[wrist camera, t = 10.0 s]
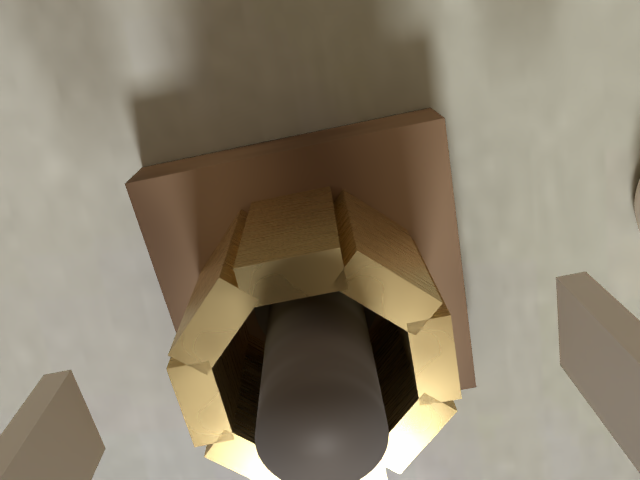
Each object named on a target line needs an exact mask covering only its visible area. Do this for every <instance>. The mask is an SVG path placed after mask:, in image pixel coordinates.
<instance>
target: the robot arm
mask: <svg viewBox="0 0 640 480" xmlns="http://www.w3.org/2000/svg"><path fill="white" fill-rule="evenodd" d="M556 287H557V308H558V329H559V350H560V365H561V367H562V368H563V369H564V371H565V372H566V373H567V375H568V376H569V378H570V379H571V380H572V382H573V383H574V384H575V386H576V387H577V388H578V390H579V391H580V393H581V394H582V395H583V397H584V398H585V399H586V401H587V402H588V403H589V405H590V406H591V408H592V409H593V410H594V412H595V413H596V414H597V416H598V417H599V418H600V420H601V421H602V423H603V424H604V425H605V427H606V428H607V429H608V431H609V432H610V433H611V435H612V436H613V438H614V439H615V440H616V442H617V443H618V444H619V446H620V447H621V448H622V450H623V451H624V453H625V454H626V455H627V457H628V458H629V459H630V461H631V462H632V463H633V465H634V466H635V467H636V469H637V470H638V472H639V473H640V321H639V320H638V319H637V318H636V317H635V316H634V315H633V314H632V313H631V312H629V311H628V310H627V309H626V308H625V307H624V306H623V305H622V304H621V303H620V302H618V301H617V300H616V299H615V298H614V297H613V296H612V295H611V294H610V293H609V292H607V291H606V290H605V289H604V288H603V287H602V286H601V285H600V284H599V283H598V282H597V281H595V280H594V279H593V278H592V277H591V276H590V275H589V274H588V273H587V272H581V273H576V274H570V275H565V276H560V277H556ZM104 450H105V446H104V444H103V442H102V439H101V437H100V435H99V432H98V430H97V428H96V426H95V423H94V421H93V419H92V417H91V414H90V412H89V410H88V407H87V405H86V403H85V401H84V398H83V396H82V394H81V392H80V389H79V387H78V385H77V382H76V380H75V378H74V376H73V373H72V371H71V370H67V371H62V372H56V373H51V374H46V375H43V377H42V378H41V380H40V381H39V382H38V384H37V385H36V387H35V388H34V389H33V391H32V392H31V394H30V395H29V396H28V398H27V399H26V401H25V402H24V403H23V405H22V406H21V408H20V409H19V410H18V412H17V413H16V415H15V416H14V417H13V419H12V420H11V421H10V423H9V424H8V426H7V427H6V428H5V430H4V431H3V433H2V434H1V435H0V480H91V479H92V477H93V475H94V472H95V470H96V468H97V466H98V464H99V461H100V459H101V457H102V455H103V453H104Z"/></svg>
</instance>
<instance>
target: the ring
mask: <svg viewBox="0 0 640 480" xmlns="http://www.w3.org/2000/svg"><path fill="white" fill-rule="evenodd" d="M336 291H340V292H341V293H343V294H345V295H346V296H348V297H350V298H351V299H353V300H355V301H357V302H358V303H360V304H362V305H363V306H365V307H367V308H369V309H370V310H372V311H374V312H375V313H377V314H379V315H380V316H382V318H381V320H380V321H379V322H378V323H377V325H376V326H375V327H374V329H373V330H372V331H371V332H370V334H369V336H370V341H371V346H372V351H373V356H374V360H375V365H376V370H377V375H378V380H379V385H380V389H381V394H382V399H383V404H384V409H385V413H386V418H387V423H388V429H389V442H388V446H387V450H386V452H385V455H384V456H383V458H382V460H381V461H380V463H379V464H378V465H377V467H376V468H375V469H374V470H373V471H372V472H370V473H369V474H368V475H367V476H365V477H364V478H362V479H360V480H387V476H386V470H385V467H387V468H389V469H391V470H393V471H395V472H397V473H399V474H401V473H402V471H403V470H404V469H405V468H406V467H407V466H408V465H409V464H410V463H411V462H412V460H413V459H414V458H415V457H416V456H417V455H418V454H419V453H420V452H421V451H422V449H423V448H424V447H425V446H426V445H427V444H428V443H429V442H430V441H431V440H432V438H433V437H434V436H435V435H436V434H437V433H438V432H439V431H440V430H441V429H442V427H443V426H444V425H445V424H446V423H447V422H448V421H449V420H450V419H451V418H452V416H453V415H454V414H455V413H456V412H457V409H456V407H455V404H454V401H453V400H457V399H462V397H461V389H460V382H459V374H458V366H457V358H456V351H455V343H454V335H453V327H452V320H451V314H450V312H449V310H448V308H447V306H446V304H445V302H444V300H443V298H442V296H441V294H440V292H439V290H438V288H437V286H436V284H435V282H434V280H433V278H432V276H431V274H430V272H429V270H428V268H427V266H426V264H425V262H424V260H423V257H422V255H421V253H420V251H419V249H418V247H417V245H416V243H415V241H414V239H412V238H411V236H410V234H409V232H408V230H407V229H405V228H404V227H402V226H401V225H399V224H398V223H396V222H394V221H393V220H391V219H390V218H388V217H387V216H385V215H384V214H382V213H380V212H379V211H377V210H376V209H374V208H373V207H371V206H369V205H368V204H366V203H365V202H363V201H362V200H360V199H358V198H357V197H355V196H354V195H352V194H351V193H349V192H348V191H346V190H344V189H342V190H341V192H340V193H339V195H338V196H337V198H336V199H335V200H334V202H333V198H332V193H331V188H330V186H329V187H324V188H319V189H314V190H309V191H304V192H299V193H294V194H289V195H284V196H279V197H274V198H269V199H264V200H259V201H254V202H251V205H250V208H249V212H248V213H247V212H245V211H243V210H242V209H240V211H239V213H238V214H237V216H236V217H235V219H234V220H233V222H232V223H231V225H230V227H229V228H228V230H227V231H226V233H225V234H224V236H223V237H222V239H221V240H220V242H219V244H218V245H217V247H216V248H215V250H214V251H213V253H212V254H211V256H210V258H209V259H208V261H207V262H206V264H205V265H204V267H203V268H202V270H201V272H200V275H199V277H198V280H197V283H196V285H195V288H194V290H193V293H192V295H191V298H190V300H189V303H188V305H187V308H186V310H185V313H184V316H183V318H182V321H181V323H180V326H179V328H178V331H177V333H176V336H175V338H174V341H173V343H172V346H171V349H170V351H169V354H168V356H170V357H171V358H170V361H169V363H168V366H167V368H166V369H167V372H168V375H169V378H170V380H171V383H172V386H173V389H174V391H175V394H176V397H177V400H178V402H179V405H180V408H181V411H182V414H183V416H184V419H185V422H186V425H187V427H188V430H189V433H190V436H191V438H192V441H193V444H194V447H198V446H203V445H207V446H206V451H205V455H204V457H206V458H208V459H210V460H212V461H214V462H216V463H218V464H220V465H222V466H225V467H227V468H229V469H231V470H233V471H235V472H237V473H239V474H241V475H244V476H246V477H248V478H250V479H252V480H280V479H279V478H277V477H276V476H275V475H273V474H272V473H271V472H270V471H269V470H268V469H267V468H266V467H265V465H264V464H263V463H262V461H261V459H260V458H259V456H258V453H257V450H256V446H255V429H256V420H257V411H258V402H259V393H260V385H261V376H262V367H263V358H264V349H265V342H264V341H262V340H260V339H258V338H256V337H254V336H253V335H251V334H249V332H248V328H247V325H246V321H245V320H246V318H247V317H248V316H249V314H250V313H251V311H252V310H253V308H254V307H259V306H264V305H269V304H274V303H279V302H285V301H290V300H295V299H300V298H305V297H310V296H316V295H321V294H326V293H331V292H336Z"/></svg>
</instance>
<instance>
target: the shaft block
mask: <svg viewBox="0 0 640 480" xmlns="http://www.w3.org/2000/svg"><path fill="white" fill-rule="evenodd" d="M125 186H126V189H127V191H128V194H129V197H130V200H131V203H132V206H133V209H134V212H135V215H136V218H137V220H138V223H139V226H140V229H141V232H142V235H143V238H144V241H145V244H146V247H147V249H148V252H149V255H150V258H151V261H152V264H153V267H154V270H155V273H156V275H157V278H158V281H159V284H160V287H161V290H162V293H163V296H164V299H165V302H166V304H167V307H168V310H169V313H170V316H171V319H172V322H173V325H174V328H175V331H176V333H177V331H178V328H179V326H180V323H181V321H182V318H183V316H184V313H185V310H186V308H187V305H188V303H189V300H190V298H191V295H192V293H193V290H194V288H195V285H196V283H197V280H198V277H199V275H200V272H201V270H202V268H203V267H204V265H205V264H206V262H207V261H208V259H209V258H210V256H211V254H212V253H213V251H214V250H215V248H216V247H217V245H218V244H219V242H220V240H221V239H222V237H223V236H224V234H225V233H226V231H227V230H228V228H229V227H230V225H231V223H232V222H233V220H234V219H235V217H236V216H237V214H238V213H239V211H240V209H242V210H243V211H245V212H247V213H248V212H249V208H250V205H251V202H254V201H259V200H264V199H269V198H274V197H279V196H284V195H289V194H294V193H299V192H304V191H309V190H314V189H319V188H324V187H329V186H330V188H331V193H332V198H333V202H334V200H335V199H336V198H337V196H338V195H339V193H340V192H341V190H342V189H344V190H346V191H348V192H349V193H351V194H352V195H354V196H355V197H357V198H358V199H360V200H362V201H363V202H365V203H366V204H368V205H369V206H371V207H373V208H374V209H376V210H377V211H379V212H380V213H382V214H384V215H385V216H387V217H388V218H390V219H391V220H393V221H394V222H396V223H398V224H399V225H401V226H402V227H404V228H405V229H407V230H408V232H409V234H410V236H411V238H412V239H414V241H415V243H416V245H417V247H418V249H419V251H420V253H421V255H422V257H423V260H424V262H425V264H426V266H427V268H428V270H429V272H430V274H431V276H432V278H433V280H434V282H435V284H436V286H437V288H438V290H439V292H440V294H441V296H442V298H443V300H444V302H445V304H446V306H447V308H448V310H449V312H450V314H451V320H452V327H453V335H454V343H455V351H456V358H457V366H458V374H459V382H460V389H461V390H463V389H468V388H474V387H476V382H475V374H474V365H473V356H472V348H471V339H470V331H469V322H468V314H467V305H466V297H465V288H464V279H463V271H462V262H461V254H460V245H459V237H458V228H457V219H456V211H455V202H454V194H453V185H452V177H451V168H450V160H449V151H448V142H447V134H446V125H445V118H444V117H443V116H441V115H440V114H439V113H437V112H436V111H434V110H433V109H432V108H427V109H422V110H417V111H412V112H408V113H403V114H398V115H393V116H388V117H383V118H379V119H374V120H369V121H364V122H359V123H355V124H350V125H345V126H340V127H335V128H330V129H326V130H321V131H316V132H311V133H306V134H301V135H297V136H292V137H287V138H282V139H277V140H272V141H268V142H263V143H258V144H253V145H248V146H243V147H239V148H234V149H229V150H224V151H219V152H215V153H210V154H205V155H200V156H195V157H190V158H186V159H181V160H176V161H171V162H166V163H161V164H157V165H152V166H147V167H142V168H141V169H140V170H139V171H138V172H137V173H136V174H135V175H134V176H133V177H132V178H131V179H129V180H128V181H127V182H126V183H125ZM381 318H382V316H380V315H379V314H377V313H375V312H374V311H372V310H370V309H369V308H367V307H365V306H363V305H362V304H360V303H358V302H357V301H355V300H353V299H351V298H350V297H348V296H346V295H345V294H343V293H341V292H340V291H336V292H331V293H326V294H321V295H316V296H310V297H305V298H300V299H295V300H290V301H285V302H279V303H274V304H269V305H264V306H259V307H254V308H253V310H252V311H251V313H250V314H249V316H248V317H247V318H246V320H245V321H246V325H247V328H248V332H249V334H251V335H253V336H254V337H256V338H258V339H260V340H262V341H264V342H265V349H264V358H263V367H262V376H261V385H260V393H259V402H258V411H257V420H256V429H255V446H256V450H257V453H258V456H259V458H260V459H261V461H262V463H263V464H264V465H265V467H266V468H267V469H268V470H269V471H270V472H271V473H272V474H273V475H275V476H276V477H277V478H279V479H280V480H360V479H362V478H364V477H365V476H367V475H368V474H369V473H370V472H372V471H373V470H374V469H375V468H376V467H377V465H378V464H379V463H380V461H381V460H382V458H383V456H384V455H385V452H386V450H387V446H388V442H389V429H388V423H387V418H386V413H385V409H384V404H383V399H382V394H381V389H380V385H379V380H378V375H377V370H376V365H375V360H374V356H373V351H372V346H371V341H370V336H369V334H370V332H371V331H372V330H373V329H374V327H375V326H376V325H377V323H378V322H379V321H380V320H381Z"/></svg>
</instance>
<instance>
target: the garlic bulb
mask: <svg viewBox="0 0 640 480" xmlns="http://www.w3.org/2000/svg"><path fill="white" fill-rule="evenodd" d="M634 208H635V216H636V221H637V225H638V228H639V231H640V179H639V182H638V185H637V189H636V194H635V200H634Z"/></svg>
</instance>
